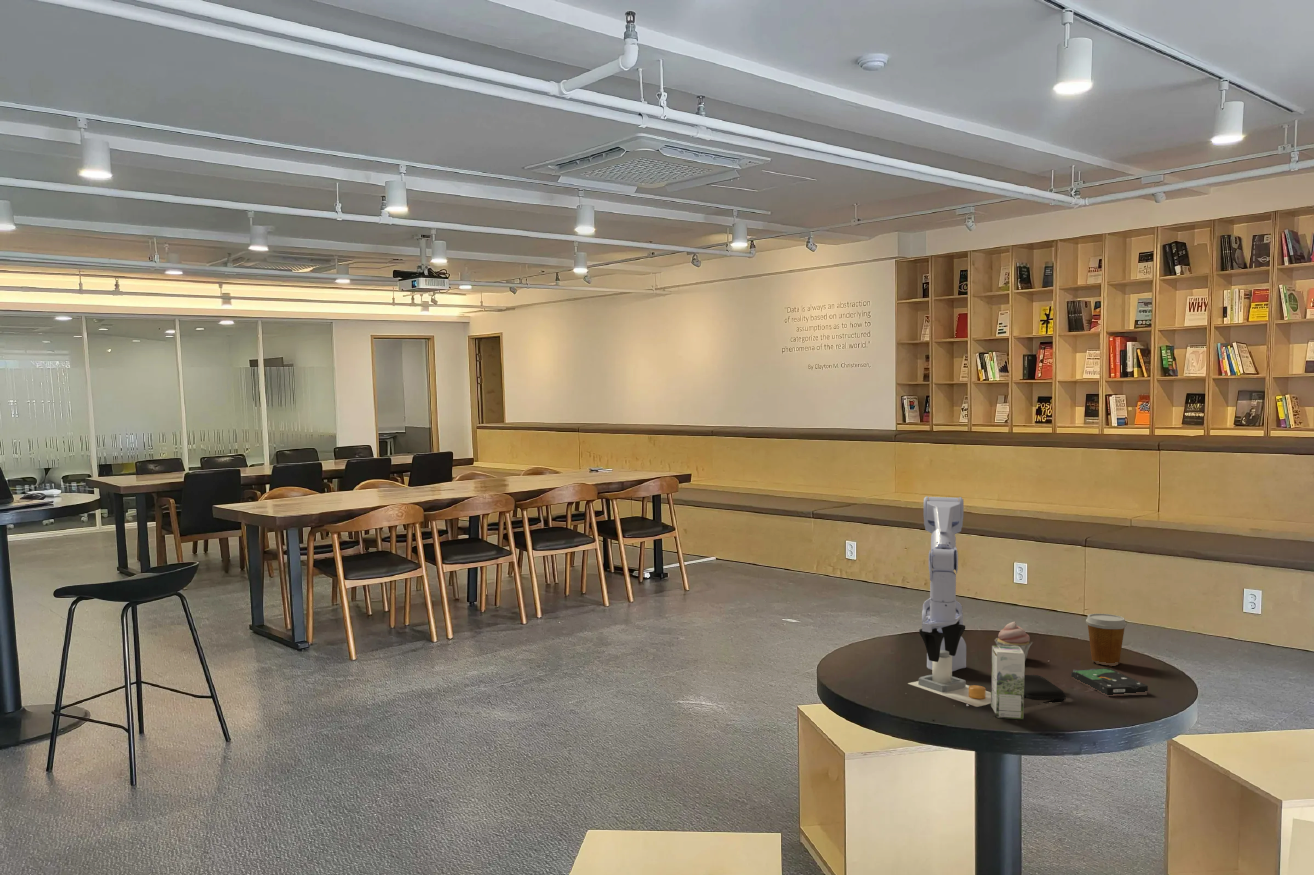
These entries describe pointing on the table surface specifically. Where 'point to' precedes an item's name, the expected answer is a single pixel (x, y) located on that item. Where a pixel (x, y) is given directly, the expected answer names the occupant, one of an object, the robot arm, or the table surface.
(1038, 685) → the carrying case or bag
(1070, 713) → the table surface
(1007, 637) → the cupcake
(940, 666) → the cylinder
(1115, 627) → the disposable coffee cup
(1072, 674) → the disk drive
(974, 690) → the orange short cylinder
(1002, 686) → the syrup box
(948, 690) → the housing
